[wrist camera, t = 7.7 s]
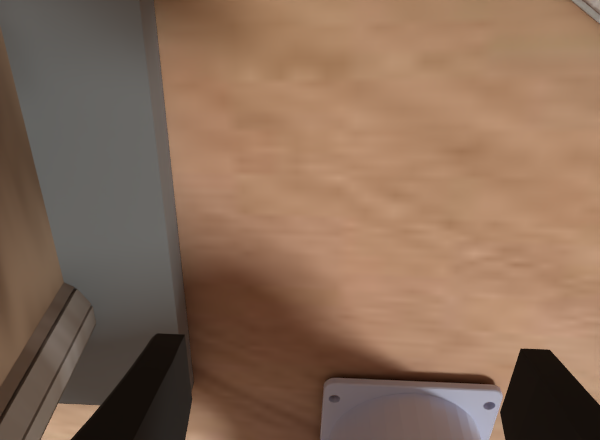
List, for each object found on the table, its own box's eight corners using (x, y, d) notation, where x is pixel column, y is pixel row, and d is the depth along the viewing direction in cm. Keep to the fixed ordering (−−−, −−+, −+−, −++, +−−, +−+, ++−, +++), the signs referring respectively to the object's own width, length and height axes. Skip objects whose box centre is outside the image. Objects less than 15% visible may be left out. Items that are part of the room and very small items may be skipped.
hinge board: (193, 382, 26) (172, 470, 23) (-21, 373, 27) (-78, 459, 23) (149, -40, 17) (99, -11, 13) (-187, -52, 17) (-334, -26, 13)
